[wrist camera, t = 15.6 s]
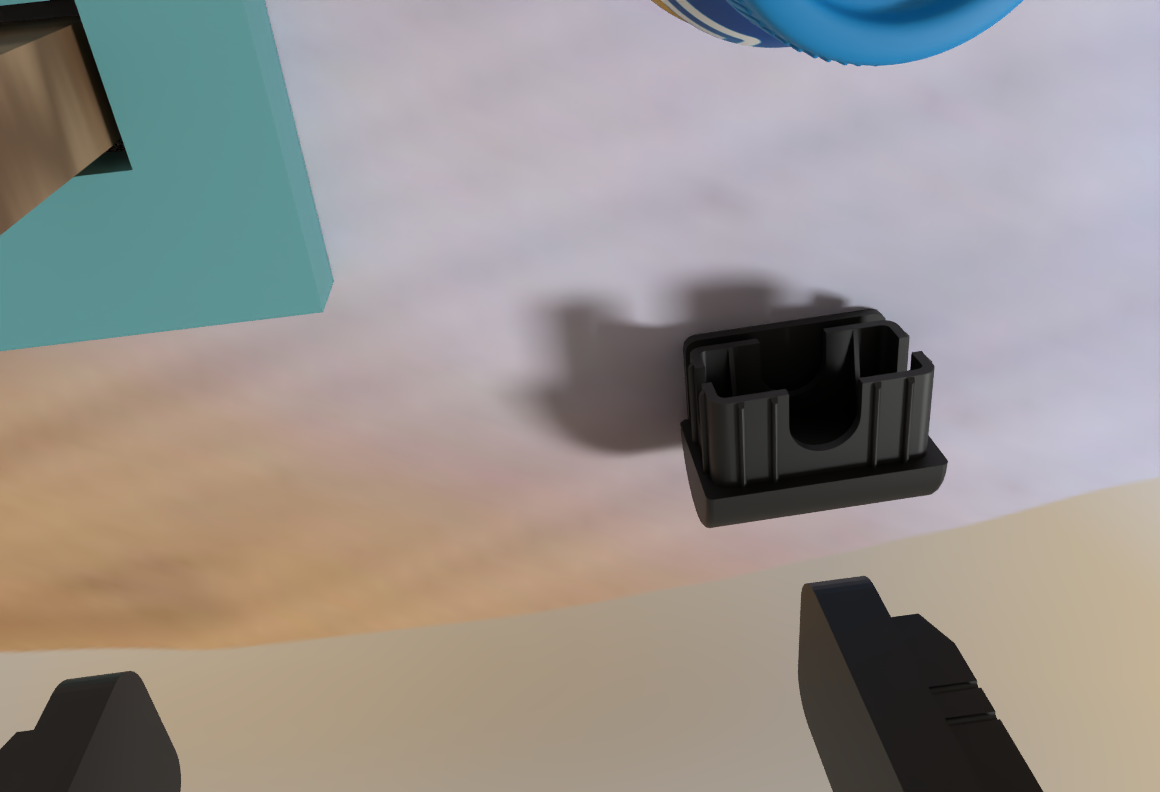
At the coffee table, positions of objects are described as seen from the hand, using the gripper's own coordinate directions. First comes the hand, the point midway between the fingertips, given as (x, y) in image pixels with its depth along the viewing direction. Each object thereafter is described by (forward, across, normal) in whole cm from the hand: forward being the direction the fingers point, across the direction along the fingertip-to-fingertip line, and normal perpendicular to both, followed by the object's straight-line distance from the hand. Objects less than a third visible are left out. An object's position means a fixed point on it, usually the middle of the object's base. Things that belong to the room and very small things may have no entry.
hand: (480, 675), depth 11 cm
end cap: (+28, -12, +14) cm, 34 cm away
